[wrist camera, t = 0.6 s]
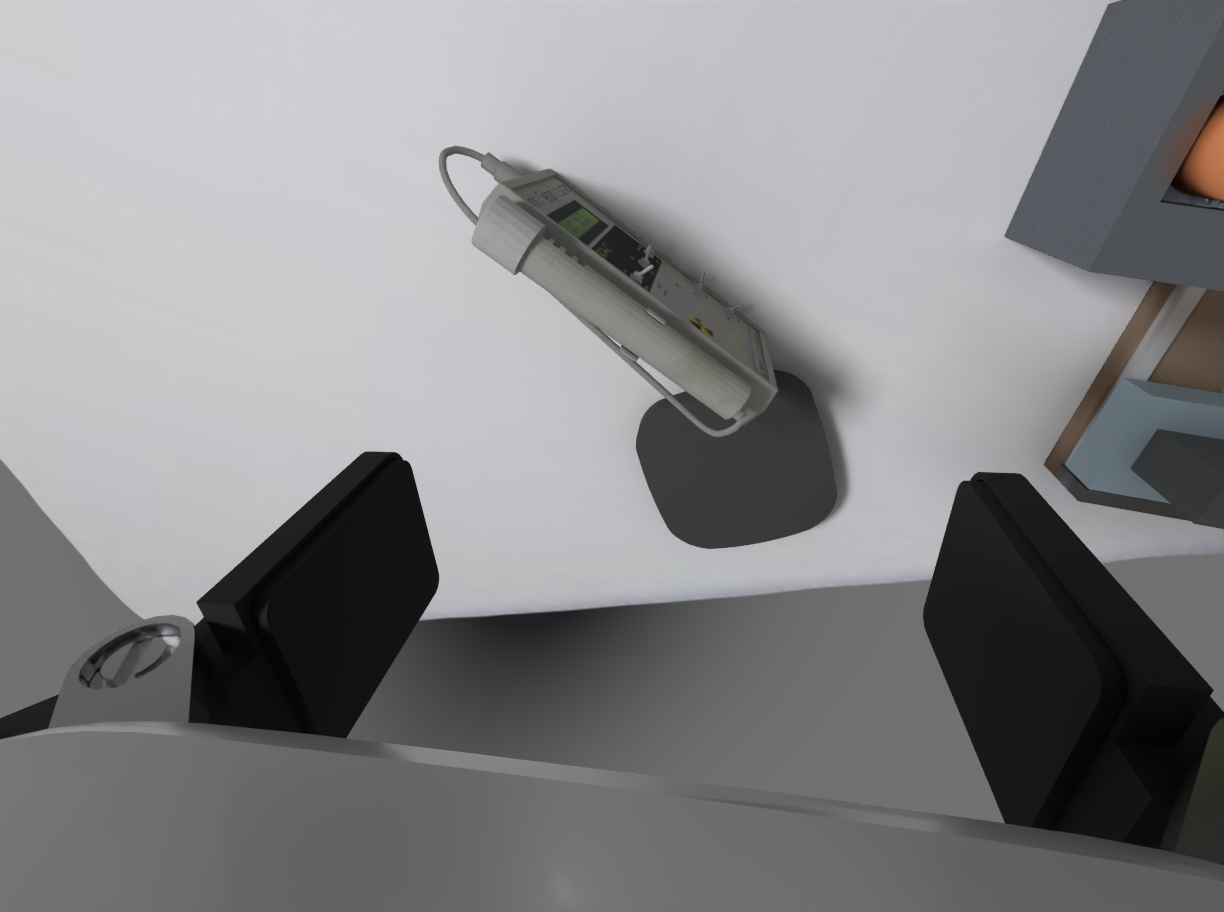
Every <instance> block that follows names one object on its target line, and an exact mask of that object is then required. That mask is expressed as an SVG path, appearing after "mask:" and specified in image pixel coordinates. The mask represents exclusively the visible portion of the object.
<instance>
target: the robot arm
mask: <svg viewBox="0 0 1224 912" xmlns="http://www.w3.org/2000/svg"><path fill="white" fill-rule="evenodd" d="M438 584H439V572H438V568H437V564H436V560H435V557H434V553H433V549H432V545H431V541H430V537H429V533H428V529H427V526H426V522H425V518H424V514H423V510H422V506H421V502H420V498H419V495H418V491H417V487H416V483H415V479H414V475H413V471H412V468H411V465H410V464H409V462H407V461H406V460H403V459H402V457H401V456H400V455H399V454H398V453H396V452H364V453H362V454H361V455H360V456H359V457H357V458H356V459H355V460H354V461H353V462H352V463H351V464H350V465H349V466H347V467H346V468H345V469H344V470H343V471H342V472H341V473H340V474H339V475H337V476H336V477H335V478H334V479H333V480H332V481H331V482H330V483H328V484H327V485H326V486H325V487H324V488H323V489H322V490H321V491H320V492H318V493H317V494H316V495H315V496H314V497H313V498H312V499H311V500H310V501H308V502H307V503H306V504H305V505H304V506H303V507H302V508H301V509H300V510H298V511H297V512H296V513H295V514H294V515H293V516H292V517H291V518H290V519H288V520H287V521H286V522H285V523H284V524H283V525H282V526H281V527H279V528H278V529H277V530H276V531H275V532H274V533H273V534H272V535H271V536H269V537H268V538H267V539H266V540H265V541H264V542H263V543H262V544H261V545H259V546H258V547H257V548H256V549H255V550H254V551H253V552H252V553H251V554H249V555H248V556H247V557H246V558H245V559H244V560H243V561H242V562H240V563H239V564H238V565H237V566H236V567H235V568H234V569H233V570H232V571H230V572H229V573H228V574H227V575H226V576H225V577H224V578H223V579H222V580H220V581H219V582H218V583H217V584H216V585H215V586H214V587H213V588H212V589H210V590H209V591H208V592H207V593H206V594H205V595H204V596H203V597H201V598H200V599H199V600H198V601H197V602H196V603H197V605H198V606H199V608H200V610H201V612H202V614H203V616H204V618H203V619H202V620H201V621H200V622H199V623H197V624H196V625H195V626H194V624H193V623H192V622H191V621H189V620H188V619H187V618H185V617H181V616H175V615H168V616H157V617H153V618H149V619H145V620H142V621H138V622H136V623H133V624H131V625H129V626H126V627H124V628H121V629H119V630H117V631H115V632H114V633H112V634H110V635H108V636H107V637H105V638H103V639H101V640H100V641H98V642H97V643H96V644H94V645H93V646H92V647H90V648H89V649H88V650H86V651H85V652H84V653H83V654H82V655H81V656H80V657H79V658H78V659H77V660H76V661H75V662H74V664H72V666H71V667H70V669H69V671H68V673H67V674H66V676H65V678H64V681H63V684H62V687H61V690H60V693H59V695H56V696H54V697H51V698H49V699H47V700H44V701H42V702H39V703H37V704H34V705H32V706H29V707H27V708H24V709H22V710H20V711H17V712H15V713H12V714H10V715H7V716H5V717H2V718H0V912H1224V712H1223V711H1222V710H1221V708H1220V707H1219V706H1218V705H1217V704H1216V703H1215V702H1214V701H1213V699H1212V698H1211V697H1210V695H1211V694H1212V692H1213V691H1214V690H1213V689H1212V688H1211V687H1210V685H1208V683H1207V682H1206V681H1205V680H1204V679H1203V678H1202V677H1201V675H1200V674H1199V673H1198V672H1197V671H1196V670H1195V669H1194V667H1192V665H1191V664H1190V663H1189V662H1188V661H1187V660H1186V658H1185V657H1184V656H1183V655H1182V654H1181V653H1180V652H1179V650H1177V648H1176V647H1175V646H1174V645H1173V644H1172V643H1171V641H1169V639H1168V638H1167V637H1166V636H1165V635H1164V634H1163V632H1162V631H1161V630H1160V629H1159V628H1158V627H1157V626H1156V625H1155V623H1154V622H1153V621H1152V620H1151V619H1150V618H1149V617H1148V616H1147V615H1146V613H1145V612H1144V611H1143V610H1142V609H1141V608H1140V606H1139V605H1138V604H1137V603H1136V602H1135V601H1134V600H1133V599H1132V597H1130V595H1129V594H1128V593H1127V592H1126V591H1125V590H1124V588H1123V587H1122V586H1121V585H1120V584H1119V583H1118V582H1117V581H1116V579H1115V578H1114V577H1113V576H1112V575H1111V574H1110V573H1109V572H1108V571H1107V569H1106V568H1105V567H1104V566H1103V565H1102V564H1101V562H1100V561H1099V560H1098V559H1097V558H1096V557H1095V556H1094V555H1093V553H1092V552H1091V551H1090V550H1089V549H1088V548H1087V547H1086V546H1085V544H1084V543H1083V542H1082V541H1081V540H1080V539H1079V538H1078V537H1077V535H1076V534H1075V533H1074V532H1073V531H1072V530H1071V529H1070V528H1069V526H1068V525H1067V524H1066V523H1065V522H1064V521H1063V520H1062V518H1061V517H1060V516H1059V515H1058V514H1057V513H1056V512H1055V511H1054V509H1053V508H1052V507H1051V506H1050V505H1049V504H1048V503H1047V502H1046V500H1045V499H1044V498H1043V497H1042V496H1041V495H1040V494H1039V493H1038V491H1037V490H1036V489H1035V488H1034V487H1033V486H1032V485H1031V484H1030V482H1029V481H1028V480H1027V479H1026V478H1025V477H1024V476H1023V475H1021V474H1017V473H990V472H978V473H976V474H974V476H973V477H972V478H971V481H963V482H961V483H960V485H959V487H958V489H957V492H956V496H955V499H954V503H953V506H952V510H951V514H950V517H949V521H948V524H947V528H946V531H945V535H944V538H943V542H942V545H941V549H940V553H939V556H938V560H937V563H936V567H935V570H934V574H933V577H932V581H931V584H930V588H929V592H928V595H927V599H926V602H925V606H924V611H923V619H924V626H925V630H926V633H927V635H928V638H929V640H930V643H931V645H932V647H933V650H934V652H935V655H936V657H937V660H938V661H939V664H940V667H941V669H942V671H943V674H944V676H945V679H946V681H947V684H948V686H949V688H950V691H951V693H952V696H953V698H954V701H955V703H956V705H957V708H958V710H959V712H960V715H961V717H962V720H963V722H964V725H965V727H966V730H967V732H968V734H969V737H970V739H971V742H972V744H973V747H974V749H975V751H976V754H977V756H978V758H979V761H980V763H981V766H982V768H983V771H984V773H985V776H986V778H987V780H988V783H989V785H990V788H991V790H992V792H993V795H994V797H995V800H996V802H997V805H998V807H999V809H1000V812H1001V814H1002V817H1003V819H1004V821H1005V824H1004V823H998V822H991V821H984V820H977V819H970V818H964V817H957V816H950V815H943V814H936V813H930V812H923V811H914V810H907V809H900V808H892V807H884V806H876V805H869V804H861V803H854V802H846V801H839V800H831V799H823V798H815V797H808V796H800V795H793V794H786V793H778V792H770V791H763V790H755V789H747V788H739V787H732V786H725V785H716V784H709V783H701V782H693V781H686V780H678V779H670V778H662V777H654V776H646V775H638V774H631V773H622V772H614V771H607V770H599V769H590V768H582V767H575V766H567V765H559V764H551V763H542V762H535V761H527V760H519V759H511V758H503V757H494V756H487V755H479V754H470V753H462V752H454V751H446V750H438V749H429V748H420V747H413V746H404V745H396V744H386V743H379V742H371V741H362V740H354V739H346V738H347V736H348V734H349V733H350V731H351V729H352V728H353V726H354V724H355V723H356V721H357V720H358V718H359V716H360V715H361V713H362V712H363V710H364V708H365V707H366V705H367V703H368V702H369V700H370V699H371V697H372V695H373V694H374V692H375V690H376V689H377V687H378V685H379V684H380V682H381V681H382V679H383V678H384V676H385V674H386V673H387V671H388V669H389V668H390V666H391V665H392V663H393V661H394V659H395V658H396V656H397V654H398V653H399V652H400V650H401V648H402V647H403V645H404V643H405V642H406V640H407V639H408V637H409V635H410V634H411V632H412V630H413V629H414V627H415V626H416V624H417V622H418V621H419V619H420V618H421V616H422V614H423V613H424V611H425V609H426V608H427V606H428V605H429V603H430V601H431V600H432V598H433V596H434V595H435V593H436V591H437V588H438Z"/></svg>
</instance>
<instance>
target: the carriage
mask: <svg viewBox="0 0 1224 912" xmlns="http://www.w3.org/2000/svg"><path fill="white" fill-rule="evenodd" d="M1066 467H1067V468H1068V469H1069V470H1070V471H1071V472H1072V473H1073V474H1074V475H1075V476H1076V477H1077V478H1078V479H1079V480H1080V481H1081V482H1082V483H1083V484H1084V485H1085V486H1086V487H1087V488H1088V489H1090V490H1096V491H1102V492H1107V493H1113V494H1119V495H1124V496H1130V497H1136V498H1141V499H1147V500H1153V501H1158V502H1164V503H1170V504H1172V505H1173V506H1174V507H1175V508H1177V509H1178V510H1179V511H1180V512H1181V513H1182V514H1184V515H1185V516H1186V517H1187V518H1188V519H1190V520H1191V521H1192V522H1193V523H1194V524H1199V525H1205V526H1210V527H1216V528H1221V529H1224V393H1218V392H1211V391H1205V390H1199V389H1193V388H1187V387H1180V386H1174V385H1168V384H1162V383H1155V382H1149V381H1143V380H1137V379H1131V378H1124V377H1122V379H1121V380H1120V382H1119V383H1118V385H1117V387H1116V388H1115V390H1114V391H1113V393H1112V395H1111V396H1110V398H1109V399H1108V401H1107V403H1106V404H1105V406H1104V407H1103V409H1102V411H1101V412H1100V414H1099V415H1098V417H1097V418H1096V420H1095V422H1094V423H1093V425H1092V426H1091V428H1090V430H1089V431H1088V433H1087V434H1086V436H1085V438H1084V439H1083V441H1082V442H1081V444H1080V445H1079V447H1078V449H1077V450H1076V452H1075V453H1074V455H1073V457H1072V458H1071V460H1070V461H1069V463H1068V465H1067V466H1066Z"/></svg>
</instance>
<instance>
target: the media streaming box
mask: <svg viewBox="0 0 1224 912" xmlns="http://www.w3.org/2000/svg"><path fill="white" fill-rule="evenodd" d="M773 371H774V375H775V379H776V384H777V388H778V392H777V393H776V395H775V396H774V398H773V399H772V401H771V402H770V404H769V405H768V407H767V408H766V410H765V411H764V412H763V413H761V414H760V415H758V416H757V417H756V418H754V419H753V420H751V421H750V422H749V423H747V424H746V425H742V426H741V427H740V428H739V429H738V430H737V431H735V432H734V433H732V434H730V435H728V436H723V437H715V436H711V435H709V434H707V433H706V432H704V431H703V430H701V429H700V428H699V427H698V426H696V425H695V424H694V423H693V422H692V421H691V420H690V419H688V418H687V417H686V416H685V415H684V414H683V413H682V412H681V411H680V410H679V409H677V408H676V407H675V406H674V405H673V404H672V403H671V402H670V401H669V400H667V399H666V398H665V399H662V400H660V401H658V402H656V403H655V404H653V405H652V406H651V407H650V408H649V409H648V410H647V411H646V413H645V414H644V416H643V418H642V420H641V423H640V426H639V430H638V434H637V439H636V450H637V454H638V457H639V460H640V463H641V467H642V470H643V473H644V475H645V478H646V481H647V484H648V486H649V489H650V491H651V494H652V496H653V499H654V501H655V503H656V505H657V507H658V510H659V512H660V514H661V516H662V518H663V520H664V521H665V523H666V525H667V527H668V529H669V530H670V531H671V533H673V534H674V535H675V536H676V537H677V538H679V539H680V540H682V541H684V542H686V543H688V544H690V545H693V546H697V547H701V548H707V549H716V548H728V547H737V546H744V545H750V544H756V543H761V542H766V541H771V540H775V539H779V538H783V537H786V536H790V535H793V534H797V533H800V532H803V531H806V530H809V529H811V528H812V527H814V526H816V525H817V524H819V523H820V522H821V521H823V520H824V519H825V518H826V517H827V516H828V514H829V513H830V512H831V510H832V509H833V507H834V505H835V502H836V499H837V491H836V485H835V479H834V473H833V468H832V463H831V459H830V455H829V450H828V447H827V443H826V439H825V435H824V432H823V428H822V425H821V421H820V418H819V415H818V412H817V409H816V406H815V403H814V400H813V397H812V394H811V392H810V390H809V388H808V387H807V386H806V385H805V384H804V383H803V382H802V381H801V380H800V379H798V378H797V377H795V376H793V375H791V374H789V373H786V372H783V371H777V370H773ZM673 396H674V397H675V398H676V399H677V400H678V401H680V402H681V403H682V404H683V405H684V406H685V407H686V408H687V409H688V410H689V411H690V412H692V413H693V414H694V415H695V416H696V417H697V418H698V419H699V420H700V421H702V422H703V423H704V424H706V425H707V426H708V427H710V428H712V429H714V430H723V429H727V428H728V427H730V426H732V425H734V424H735V423H736V422H737V420H735V419H734V418H733V417H731V418H730V419H727V420H726V419H724V418H723V417H721V416H720V415H718V414H717V413H716V412H714V411H713V410H711V409H710V408H709V407H707V406H706V405H705V404H703V403H702V402H700V401H699V400H698V399H696V398H695V397H693V396H692V395H691V394H689V393H688V392H687V391H685V392H682V393H679V394H676V395H673Z"/></svg>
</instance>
